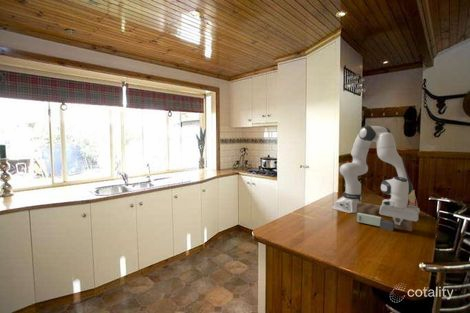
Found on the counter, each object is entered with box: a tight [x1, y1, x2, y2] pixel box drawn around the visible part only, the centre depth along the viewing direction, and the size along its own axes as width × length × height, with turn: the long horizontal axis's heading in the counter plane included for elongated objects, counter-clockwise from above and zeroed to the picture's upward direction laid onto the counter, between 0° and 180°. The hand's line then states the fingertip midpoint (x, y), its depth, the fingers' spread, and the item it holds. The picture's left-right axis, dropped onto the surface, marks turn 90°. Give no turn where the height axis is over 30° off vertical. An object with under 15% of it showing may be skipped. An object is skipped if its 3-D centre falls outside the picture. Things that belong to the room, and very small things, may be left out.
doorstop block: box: [379, 218, 395, 232], centre depth 153 cm, size 7×5×5 cm
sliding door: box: [356, 213, 382, 227], centre depth 160 cm, size 14×4×6 cm, turn 49°
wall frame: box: [355, 202, 414, 232], centre depth 160 cm, size 32×2×12 cm, turn 49°
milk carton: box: [407, 189, 418, 207], centre depth 176 cm, size 9×9×20 cm
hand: (397, 224), depth 150 cm, fingers closed
